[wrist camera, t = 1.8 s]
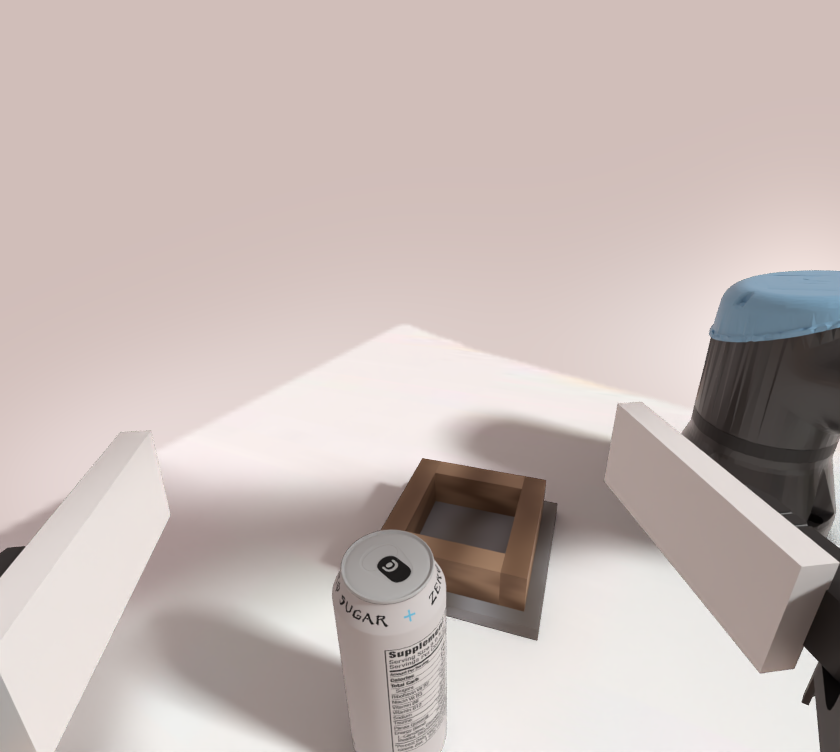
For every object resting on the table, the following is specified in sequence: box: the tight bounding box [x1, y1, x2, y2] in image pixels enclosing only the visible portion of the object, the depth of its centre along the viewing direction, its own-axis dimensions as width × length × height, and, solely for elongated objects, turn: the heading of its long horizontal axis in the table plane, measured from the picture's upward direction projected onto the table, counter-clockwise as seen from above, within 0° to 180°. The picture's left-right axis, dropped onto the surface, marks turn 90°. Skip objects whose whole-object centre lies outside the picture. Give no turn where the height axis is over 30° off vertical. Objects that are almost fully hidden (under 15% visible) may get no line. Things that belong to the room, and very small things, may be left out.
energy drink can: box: [332, 530, 447, 752], centre depth 29 cm, size 6×6×15 cm
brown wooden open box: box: [381, 458, 557, 640], centre depth 46 cm, size 15×15×5 cm
